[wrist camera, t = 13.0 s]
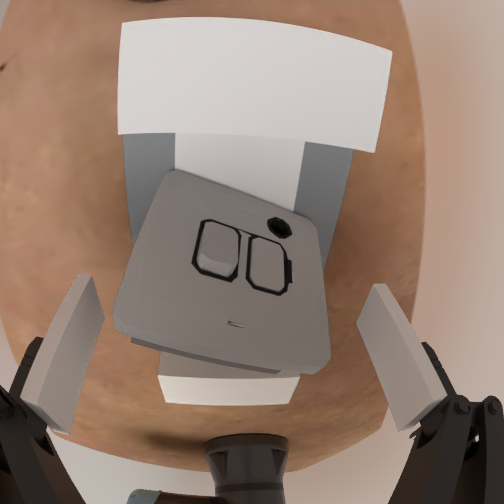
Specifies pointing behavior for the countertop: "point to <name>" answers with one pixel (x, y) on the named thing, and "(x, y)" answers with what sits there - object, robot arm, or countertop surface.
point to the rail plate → (245, 140)
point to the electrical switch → (225, 281)
